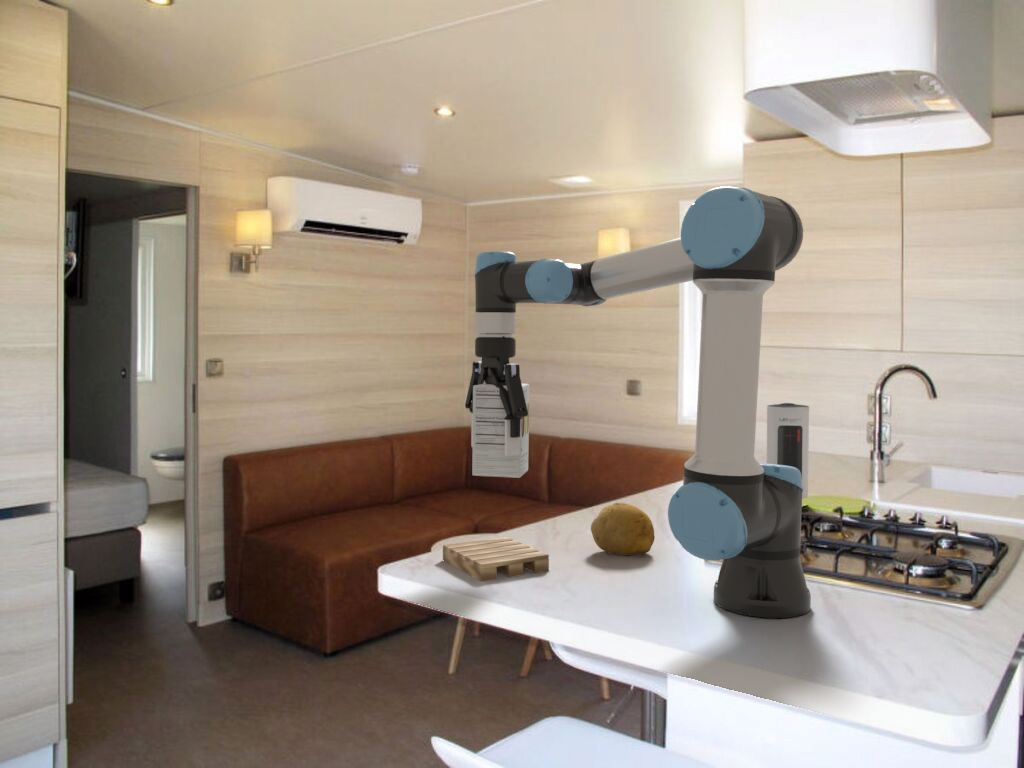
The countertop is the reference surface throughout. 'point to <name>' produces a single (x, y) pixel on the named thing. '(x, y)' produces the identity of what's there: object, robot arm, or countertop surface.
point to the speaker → (789, 438)
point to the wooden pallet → (495, 558)
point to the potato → (623, 530)
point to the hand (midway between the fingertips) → (494, 451)
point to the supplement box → (496, 435)
